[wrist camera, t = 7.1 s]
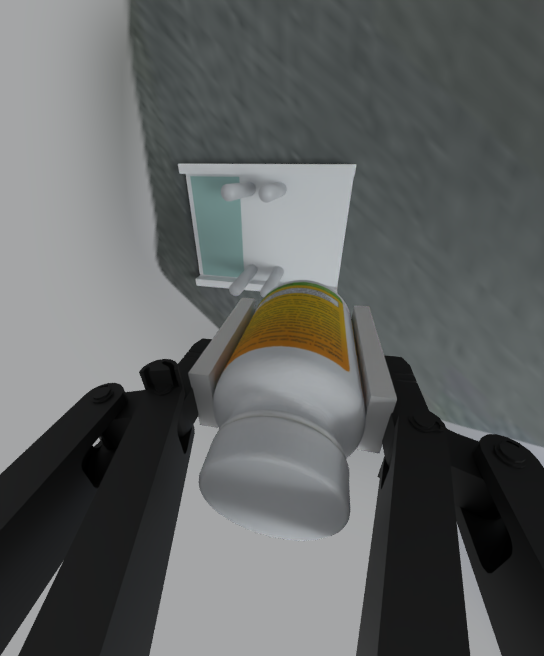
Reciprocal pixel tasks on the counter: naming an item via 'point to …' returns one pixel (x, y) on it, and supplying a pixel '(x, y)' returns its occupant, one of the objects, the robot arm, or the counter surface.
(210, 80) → the counter surface
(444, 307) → the counter surface
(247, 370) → the supplement bottle
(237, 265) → the tray
